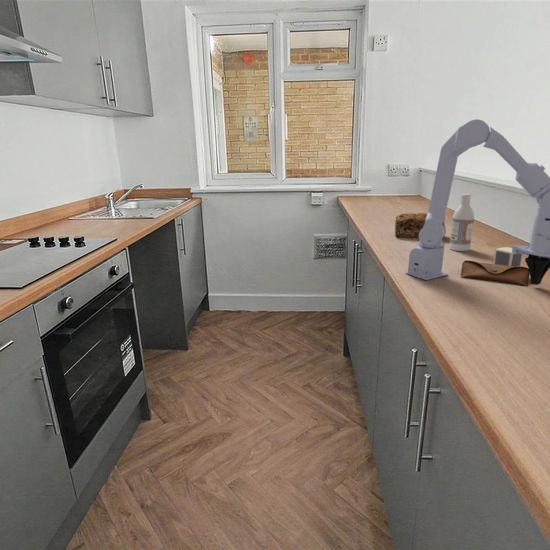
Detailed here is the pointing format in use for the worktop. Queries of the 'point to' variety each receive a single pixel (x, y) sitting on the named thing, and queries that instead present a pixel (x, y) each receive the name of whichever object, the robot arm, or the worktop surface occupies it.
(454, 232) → the bath foam
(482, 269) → the sunglasses case
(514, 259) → the cube
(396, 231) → the bread
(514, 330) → the worktop surface
